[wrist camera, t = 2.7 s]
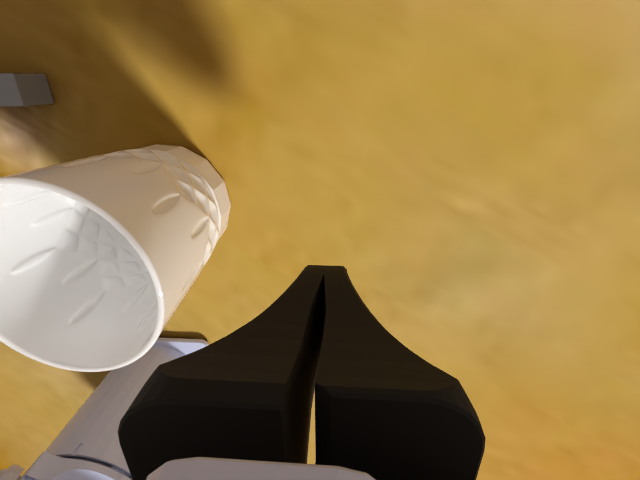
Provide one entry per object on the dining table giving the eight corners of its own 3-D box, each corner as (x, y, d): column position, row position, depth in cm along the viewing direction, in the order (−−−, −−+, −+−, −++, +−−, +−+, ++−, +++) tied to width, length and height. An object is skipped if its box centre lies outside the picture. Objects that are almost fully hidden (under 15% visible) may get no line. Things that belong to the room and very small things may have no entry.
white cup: (99, 221, 22) (-70, 317, 13) (133, 105, 19) (-57, 128, 10) (212, 276, 23) (129, 400, 14) (262, 176, 20) (195, 254, 11)
